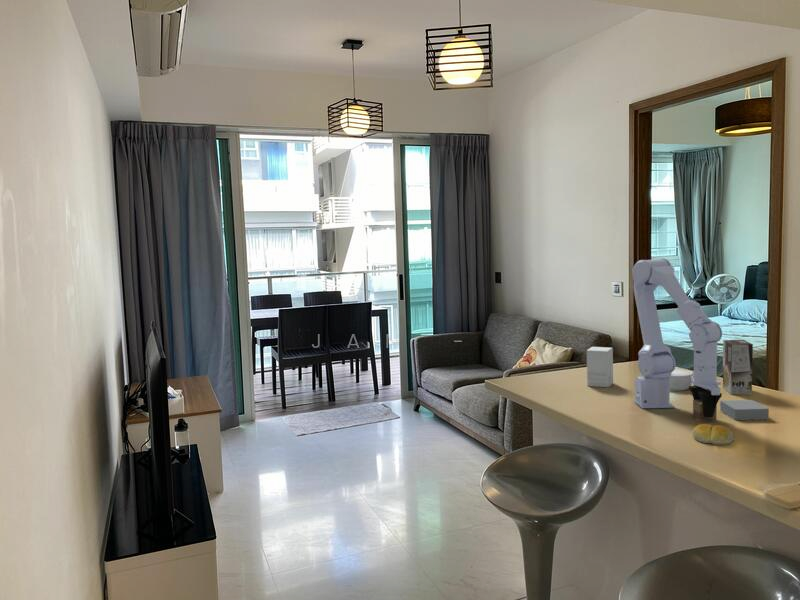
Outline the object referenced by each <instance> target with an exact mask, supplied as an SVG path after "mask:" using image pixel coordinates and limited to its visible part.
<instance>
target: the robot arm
mask: <svg viewBox="0 0 800 600" xmlns="http://www.w3.org/2000/svg"><path fill="white" fill-rule="evenodd" d="M631 275H632V278H633V293H634V299H635V305H636V308H637V314H638V321H639V326H640V330H641V331H640V333H641V335H642V336H641V337H642V342H643V345H642V347H641V349H640V350H639V351H638V353H637V355H638V361H637V366H638V367H637V368H638V371H639V373H640V374H641V375H642V376H637V377H636V378H635V381H634V382H635V383H634V403H635V404H637V405H638V406H639V407H640V408H641V409H675V407H676V406H675V405H674V404H672V403H671V402H670V395H671V394H670V391H671V390H670V376H671V372H673V371H674V370H675V369H676V368H677V363H676V359H675V357H674V356H673V354H672V350H671V347H669V346H668V345H667V344H665V342H664V339H663V334H662V329H661V324H660V319H659V315H658V314H659V312H658V309H657V303H656V298H655V297H656V296H655V293H654V292H655V290H656V289H657V288H658V286H660V287H662V289H664V290H665V291H666V293H667V295H669V297H670V298H671V299H672V301H674V303H675V304H676V305H677V311H676V312H677V314H678V315H679V317H680V318H681V320H682V322H683V323H684V324H685V326H686V327H687V328H688V330H689V331H690V332H689V333H688V336H689V340H690V341H691V343H692V349H693V376H691V384H692V385H691V386H689V389H688V390H689V391H690V393H691V395H692V398H693V400H701V401H702V406H703V414H704V417H713V415H714V411H715V408H716V405H717V404H718V402H720V401H719V400H720V399H721V397H723V396H722V395H723V393H721V387H719V385H722V382H721V381H719V380H717V378H718V377H717V372H718V370H717V364H718V362H717V361H718V342H720V341H721V339H722V337H723V330H722V328H721V326H720V324H719V323H717V322H716V321H713V320H712V319H710V318H709V317H708V316H707V314H706V313H705V312H704V311H703V309H702V307H701V304H700V303H699V302H697V301H696V300H693V299H690V298H689V297H688V295H687V294H686V293H687V292H685V290H684V288H683V286H682V285H681V283H680V281H679V280H678V279H677V277H676V275H675V267H674V266H673V265H672V264H671V262H670V260H668V259H667V258H657V259H641V260H638V261H636V262H635V264H634V266H633V267H632V269H631Z"/></svg>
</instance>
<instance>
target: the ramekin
mask: <svg viewBox="0 0 800 600" xmlns="http://www.w3.org/2000/svg"><path fill="white" fill-rule="evenodd" d="M691 376H694V371H692V370H688V369H683V368H675V370H674V371H673V372H671V376H670V391H687V390H690V389H689V386H692V383H691ZM686 389H687V390H686Z"/></svg>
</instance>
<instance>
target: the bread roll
mask: <svg viewBox="0 0 800 600" xmlns="http://www.w3.org/2000/svg"><path fill="white" fill-rule="evenodd" d="M692 437H693V438H694V439H695V440H696V441H697V442H700V443H703V444H711V445H715V446H717V445H718V446H725V445H729V444H731V443H732V441H733V439H734V433H733V432H732V431H731V430H730V429H729V428H728V427H726V426H724V425H721V424H718V425H711V424H709V423H700V424H698V425H696V426H694V428H693V430H692Z"/></svg>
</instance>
